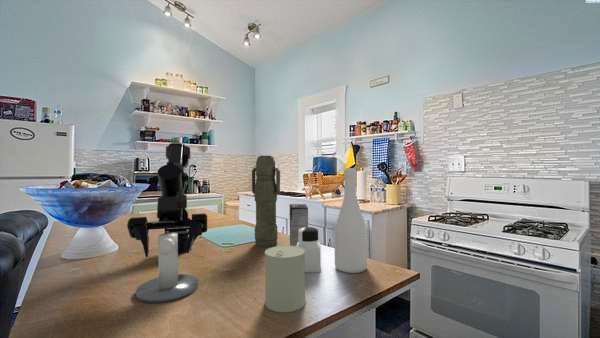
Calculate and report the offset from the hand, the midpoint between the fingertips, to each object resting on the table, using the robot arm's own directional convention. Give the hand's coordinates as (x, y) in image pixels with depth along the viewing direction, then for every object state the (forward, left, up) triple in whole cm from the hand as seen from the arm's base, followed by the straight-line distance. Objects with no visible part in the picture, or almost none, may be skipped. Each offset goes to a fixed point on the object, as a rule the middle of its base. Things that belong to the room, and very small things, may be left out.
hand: (167, 254), depth 68 cm
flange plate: (-1, +1, -9) cm, 9 cm away
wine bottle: (+39, +31, -9) cm, 51 cm away
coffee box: (+17, +45, -9) cm, 49 cm away
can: (+29, +5, -9) cm, 31 cm away
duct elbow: (0, 0, -8) cm, 8 cm away
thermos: (+3, +46, -9) cm, 47 cm away
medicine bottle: (+27, +27, -9) cm, 39 cm away
